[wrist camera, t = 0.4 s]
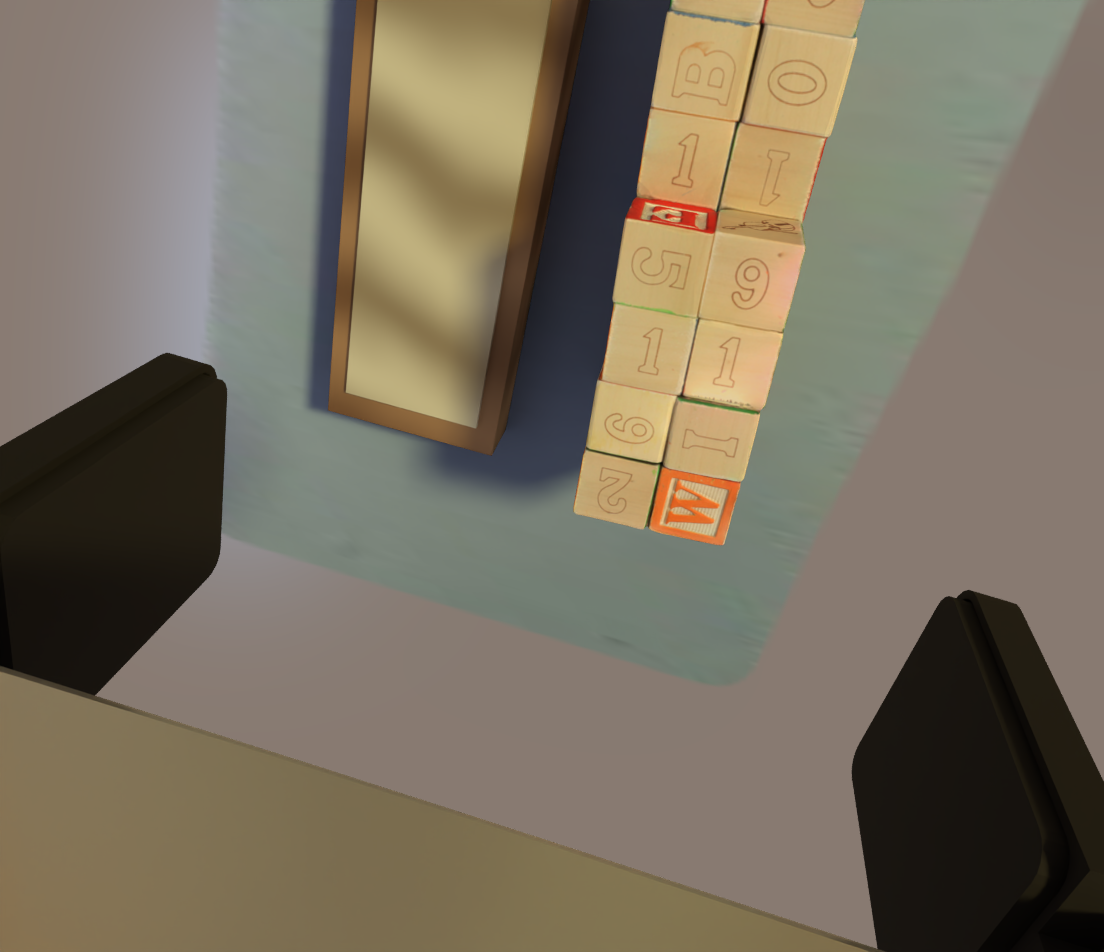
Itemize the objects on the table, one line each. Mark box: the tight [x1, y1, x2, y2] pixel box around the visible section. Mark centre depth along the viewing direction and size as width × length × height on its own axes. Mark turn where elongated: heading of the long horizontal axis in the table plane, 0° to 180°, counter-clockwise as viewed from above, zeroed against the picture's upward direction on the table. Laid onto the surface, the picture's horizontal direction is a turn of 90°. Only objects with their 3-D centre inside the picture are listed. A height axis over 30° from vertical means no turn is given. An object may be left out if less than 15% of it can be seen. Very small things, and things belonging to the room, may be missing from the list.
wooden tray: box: [328, 0, 590, 456], centre depth 39 cm, size 27×9×3 cm, turn 168°
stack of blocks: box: [573, 0, 865, 545], centre depth 34 cm, size 21×6×12 cm, turn 172°
